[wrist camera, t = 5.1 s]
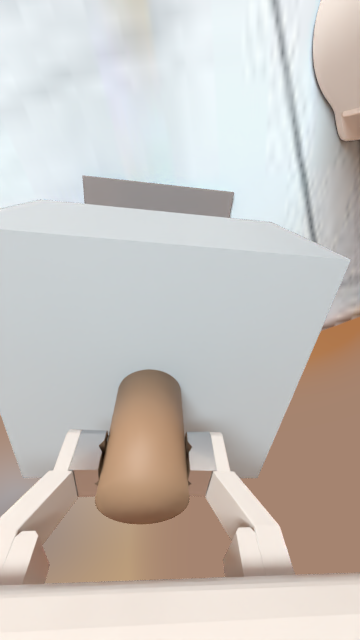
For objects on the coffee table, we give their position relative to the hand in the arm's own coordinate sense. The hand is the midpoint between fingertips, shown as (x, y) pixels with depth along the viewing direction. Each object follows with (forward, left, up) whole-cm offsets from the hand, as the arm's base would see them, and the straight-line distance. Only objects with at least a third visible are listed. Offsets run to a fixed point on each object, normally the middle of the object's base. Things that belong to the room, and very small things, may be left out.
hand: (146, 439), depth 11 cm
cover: (0, 0, -12) cm, 12 cm away
